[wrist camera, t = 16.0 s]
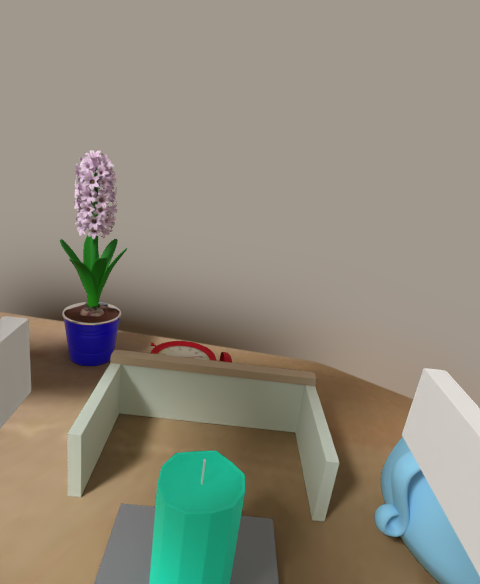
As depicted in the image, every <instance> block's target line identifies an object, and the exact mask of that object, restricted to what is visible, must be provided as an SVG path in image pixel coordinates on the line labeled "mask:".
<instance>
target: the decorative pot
mask: <svg viewBox="0 0 480 584" xmlns="http://www.w3.org/2000/svg"><path fill="white" fill-rule="evenodd" d="M381 490H382V494H383V498H384V501H385V504H383V505H381V506H380V507H379V508H378V509H377V510H376V512H375V523H376V526H377V528H378V529H379V530H380V531H381V532H382V533H384V534H386V535H388V536H391V537H398V536H400V537H401V539H402V540H403V542H404V543H405V545H406V546H407V548H408V549H409V551H410V552H411V553H412V554H413V556H414V557H415V558H416V559H417V561H418V562H419V563H420V564H421V565H422V566H423V567H424V569H425V570H426V571H427V572H428V573H429V574H430V575H431V576H432V577H433V578H434V579H435V580H436V581H437V582H438V583H439V584H480V576H479V574H478V573H477V571H476V569H475V567H474V565H473V563H472V562H471V560H470V558H469V556H468V554H467V553H466V551H465V549H464V547H463V545H462V543H461V542H460V540H459V538H458V536H457V534H456V532H455V531H454V529H453V527H452V525H451V523H450V522H449V520H448V518H447V516H446V514H445V512H444V511H443V509H442V507H441V505H440V503H439V502H438V500H437V498H436V496H435V494H434V492H433V491H432V489H431V487H430V485H429V483H428V482H427V480H426V478H425V476H424V474H423V472H422V471H421V469H420V467H419V465H418V463H417V462H416V460H415V458H414V456H413V454H412V452H411V451H410V449H409V447H408V445H407V443H406V441H405V440H404V438H403V437H402V438H401V439H400V440H399V442H398V443H397V444H396V445H395V447H394V448H393V450H392V451H391V453H390V455H389V457H388V459H387V461H386V463H385V465H384V467H383V470H382V473H381Z"/></svg>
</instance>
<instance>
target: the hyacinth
mask: <svg viewBox="0 0 480 584" xmlns="http://www.w3.org/2000/svg"><path fill="white" fill-rule="evenodd" d="M100 152H101V151H97V152H96V153H94V151H93V150H92V151H90V154H89V153H85V158H83V157H82V158H80V159H79V160H81V161H82V162H81V164H80V167H82V169H80V168H79V166H77V165H76V169H77V170H76V171H75V175H76V178H77V176H79V177H80V178H78V182H79V183H80V184H78V185H77V184H76V181H75V187H76V188H77V189H76V190H75V197H76V195H77V194H78V195H79V196H78V197H76V200H75V202H74V203H75V204H76V205H75V209H76V208H78V212H79V213H78V214H77V217H78V218H77V217H76V220H77V223H75V224H76V226H78V227H79V228H77V231H78V232H79V231H80V232H79V235H80V236H81V235H82V233H84V234H86V233H85V232H84V231H85V230H87V231H89V232H90V233H89V234H88V236H87V237H86V240H85V243H84V250H83V260H84V264H83V263H82V262H80V260H79V259H78V257H77V256H76V254H75V253H74V252H73V250H72V249H71V248H70V247H69V246H68V245H67V244H66V243H65V242H64V241H63V240H60V243H61V245H62V247H63V248H64V250H65V252H66V253H67V254H68V255H69V257H70V261H71V262H72V264H73V265H74V266H75V268H76V270H77V272H78V274H79V277H80V279H81V281H82V284H83V286H84V288H85V290H86V293H87V297H88V301H87V302H85V303H78V304H74V305H71V306H69V307H67V308H65V309H64V311H63V313H62V314H63V317H64V322H65V328H66V335H67V342H68V349H69V356H70V359H71V361H72V362H74V363H76V364H79V365H83V366H96V365H101V364H104V363H107V362H108V361H110V360H111V354H112V353H113V351H114V347H115V342H116V336H117V330H118V323H119V318H120V316H121V312H120V310H119V309H118V308H117V307H115V306H113V305H110V304H107V303H100V302H99V298H100V295H101V292H102V289H103V287H104V285H105V283H106V280H107V278H108V276H109V274H110V272H111V270H112V268H113V267H114V265H115V264H116V263H117V261H118V260H119V259H120V257H121V256H122V255H123V254H124V252H125V251H126V250H127V248H126V249H125V250H124V251H123V252H122V253H120V254H119V256H118V257H117V258H116V259H115V260H114V261H113V262H112V263H111V264H110V261H111V258H112V256H113V253H114V251H115V248H116V245H117V239H114V240H113V241H111V242H110V243H109V245H108V246H107V247H106V249H105V250H104V252H103V254H102V256H101V258H99V254H98V236H100V234H99V232H100V231H102V232H103V235H102V236H101V237H103V238H105V234H107V235H109V232H111V231H112V228H113V226H114V224H115V223H114V221H115V218H114V213H116V212H117V209H116V206H117V204H115V205H114V203H113V202H114V200H115V194H116V190H115V191H114V192H112V189H114V187H113V186H114V185H115V183H114V182H116V178H114V177H115V173H114V174H113V172H114V171H112V170H113V169H112V167H114V165H113V164H109V163H111V161H110V160H107V158H108V157H107V155H106V154H101V155H99V153H100ZM97 158H98V160H99V161H97ZM78 164H79V163H78ZM106 166H107V167H106ZM110 166H112V167H110ZM89 170H90V171H89ZM99 178H100V179H99ZM85 180H86V182H84V181H85ZM82 181H83V182H82ZM99 186H100V187H103V189H106V190H99V189H100V188H99ZM98 190H99V191H98ZM77 192H78V193H77ZM83 195H84V196H83ZM112 198H113V199H114V200H113V199H112ZM80 200H81V201H80ZM110 201H111V202H112V203H113V205H112V206H111V207H109V206H106V204H108V203H109V202H110ZM115 201H116V200H115ZM105 203H106V204H105ZM116 203H117V202H116ZM90 205H91V206H90ZM107 213H110V214H107ZM82 214H83V215H82ZM111 214H112V218H111ZM107 216H108V218H107ZM79 217H81V218H79ZM101 224H102V225H101ZM105 225H106V229H105V228H104V226H105ZM112 225H113V226H112ZM109 227H111V230H108V229H109ZM109 264H110V266H109ZM108 266H109V267H108Z"/></svg>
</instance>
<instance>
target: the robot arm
mask: <svg viewBox="0 0 480 584" xmlns="http://www.w3.org/2000/svg"><path fill="white" fill-rule="evenodd" d="M30 393H31V370H30V345H29V320H28V319H25V318H17V317H9V316H4V317H2V318H1V319H0V428H1V427H2V426H3V425H4V424H5V422H6V421H7V420H8V419H9V418H10V416H11V415H12V414H13V413H14V412H15V411H16V409H17V408H18V407H19V406H20V405H21V403H22V402H23V401H24V400H25V399H26V397H27V396H28V395H29V394H30ZM402 436H403V438H404V440H405V441H406V443H407V445H408V447H409V449H410V451H411V452H412V454H413V456H414V458H415V460H416V462H417V463H418V465H419V467H420V469H421V471H422V472H423V474H424V476H425V478H426V480H427V482H428V483H429V485H430V487H431V489H432V491H433V492H434V494H435V496H436V498H437V500H438V502H439V503H440V505H441V507H442V509H443V511H444V512H445V514H446V516H447V518H448V520H449V522H450V523H451V525H452V527H453V529H454V531H455V532H456V534H457V536H458V538H459V540H460V542H461V543H462V545H463V547H464V549H465V551H466V553H467V554H468V556H469V558H470V560H471V562H472V563H473V565H474V567H475V569H476V571H477V573H478V574H479V576H480V408H479V407H478V406H477V405H476V404H475V403H474V402H473V401H472V399H471V398H470V397H469V396H468V395H467V394H466V393H465V392H464V391H463V389H462V388H461V387H460V386H459V385H458V384H457V383H456V382H455V380H454V379H453V378H452V377H451V376H450V375H449V374H448V373H447V371H443V370H436V369H428V368H424V369H423V372H422V375H421V378H420V381H419V384H418V387H417V390H416V393H415V396H414V399H413V402H412V405H411V408H410V411H409V414H408V417H407V421H406V424H405V427H404V430H403V433H402Z"/></svg>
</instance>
